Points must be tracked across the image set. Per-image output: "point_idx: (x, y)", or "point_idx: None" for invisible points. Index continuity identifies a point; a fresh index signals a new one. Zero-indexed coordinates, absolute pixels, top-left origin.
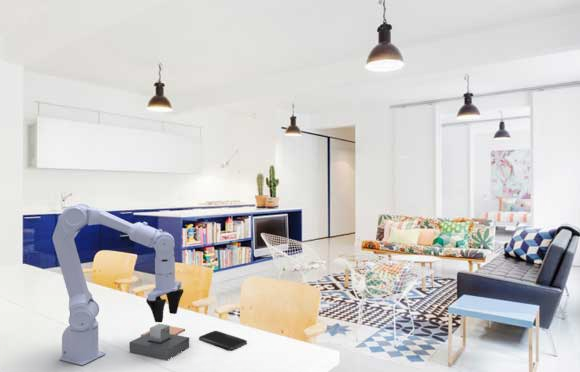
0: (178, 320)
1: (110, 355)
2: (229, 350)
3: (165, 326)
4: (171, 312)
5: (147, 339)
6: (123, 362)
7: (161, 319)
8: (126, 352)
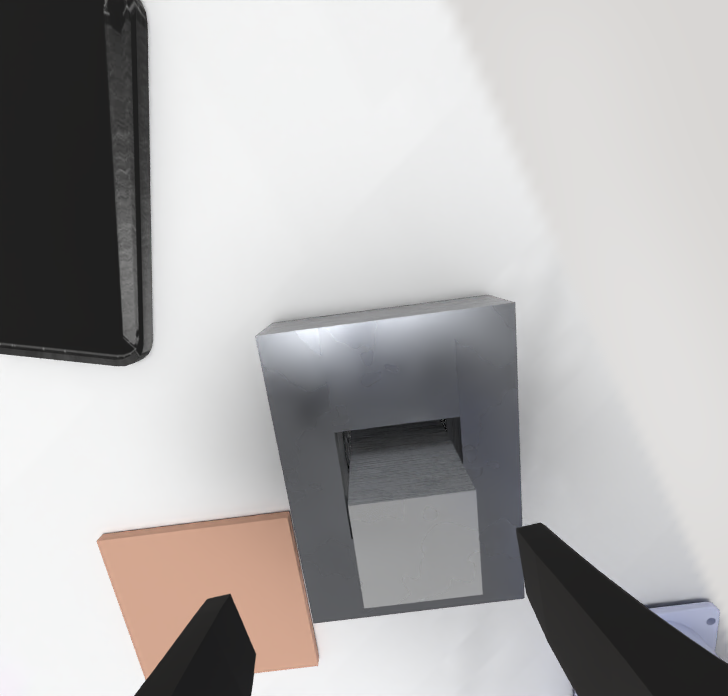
0: (26, 669)
1: None
2: (141, 3)
3: (387, 516)
4: (245, 651)
5: None
6: (606, 479)
7: (564, 542)
8: None
